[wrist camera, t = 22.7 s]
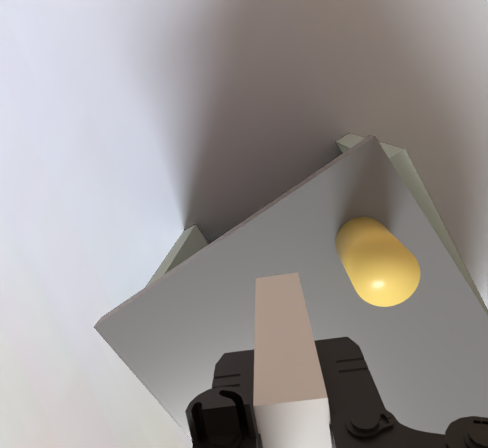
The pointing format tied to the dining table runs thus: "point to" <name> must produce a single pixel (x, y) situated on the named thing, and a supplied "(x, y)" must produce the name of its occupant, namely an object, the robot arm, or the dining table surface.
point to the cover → (322, 296)
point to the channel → (398, 156)
